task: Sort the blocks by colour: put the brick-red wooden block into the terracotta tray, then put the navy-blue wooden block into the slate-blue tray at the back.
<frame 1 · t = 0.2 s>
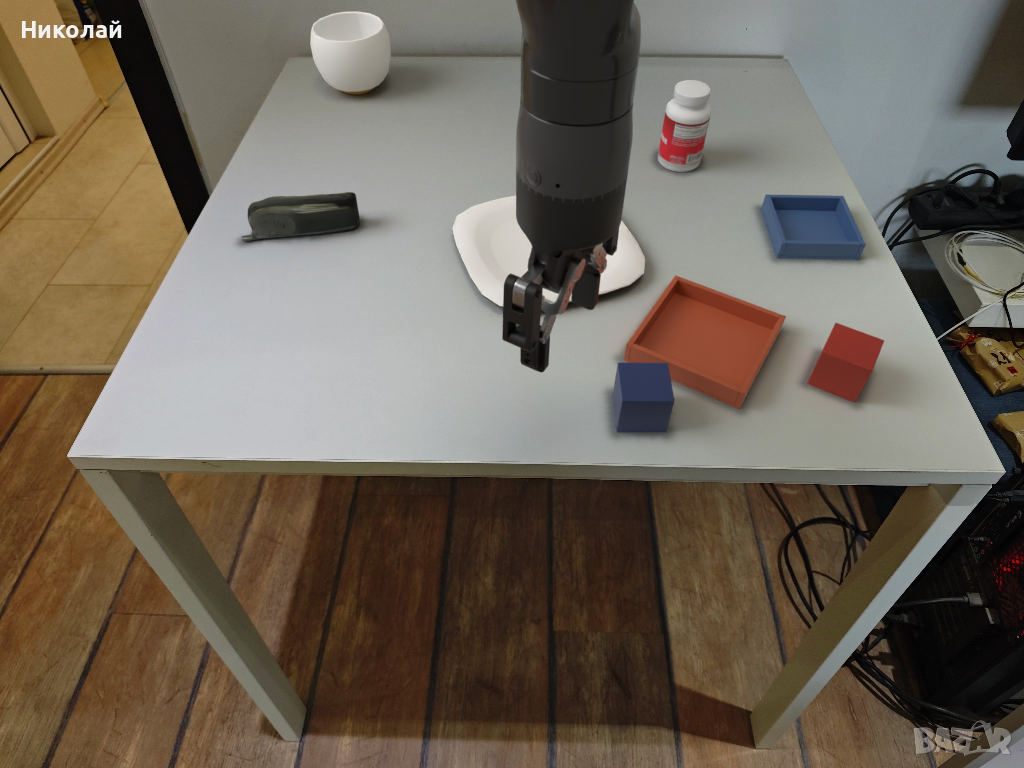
hand: (560, 334, 60), 15 cm above the table, tool pointing down, fingers open, 8 cm apart
plate: (546, 253, 91), on the table
pill bottle: (678, 162, 105), on the table
cup: (358, 87, 119), on the table
navy block: (638, 413, 74), on the table
red block: (836, 378, 77), on the table
blue tray: (807, 234, 93), on the table
terracotta tray: (703, 345, 80), on the table
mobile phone: (303, 233, 94), on the table
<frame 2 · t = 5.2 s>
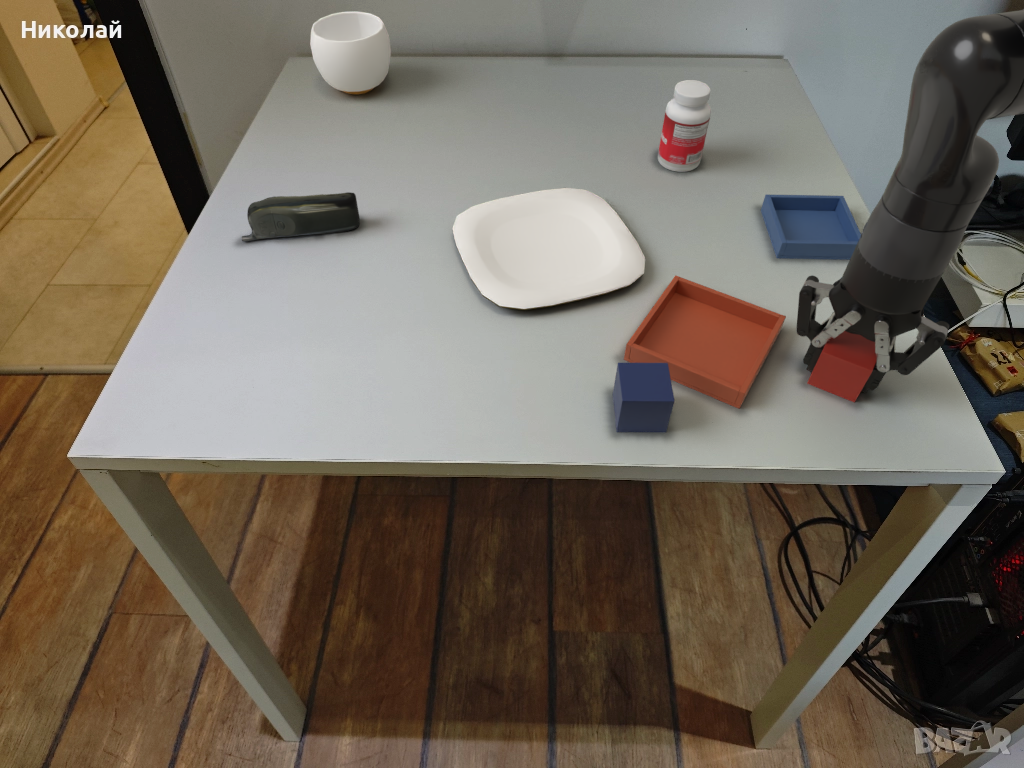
hand: (838, 375, 77), 0 cm above the table, tool pointing down, fingers closed on red block, 5 cm apart
red block: (836, 378, 77), on the table, touching gripper
everything else where it was.
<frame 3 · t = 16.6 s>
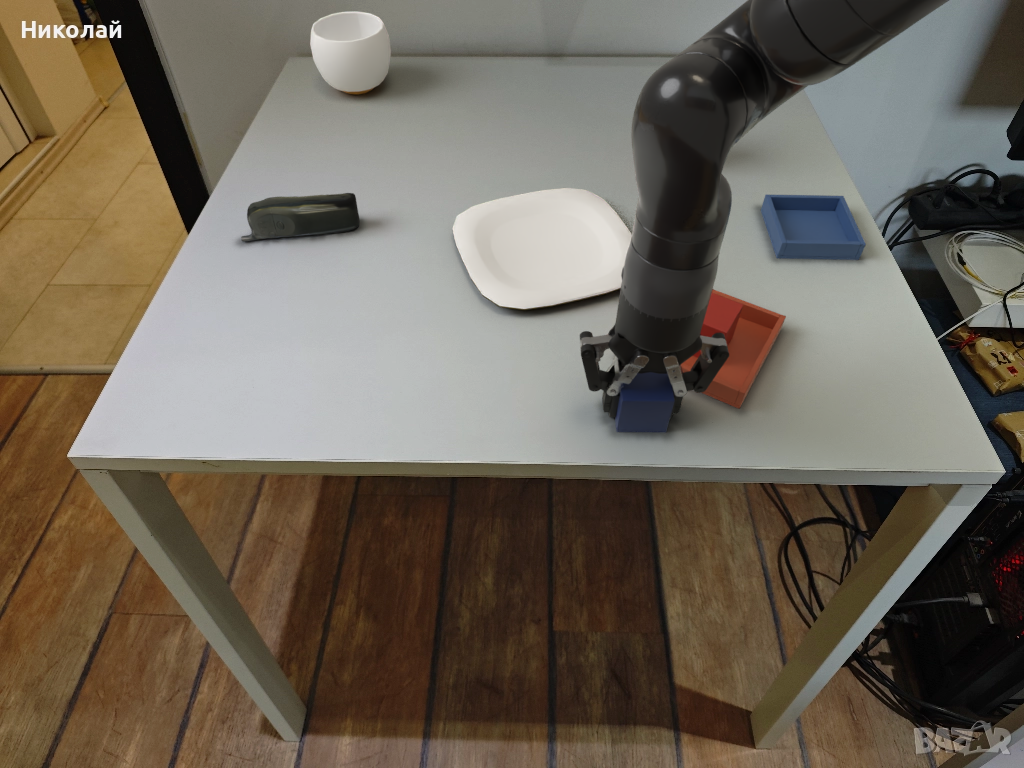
hand: (639, 410, 74), 0 cm above the table, tool pointing down, fingers closed on navy block, 5 cm apart
navy block: (638, 413, 74), on the table, touching gripper
red block: (703, 342, 80), resting on terracotta tray
everything else where it was.
when the fingers open (1 cm above the table, at t = 26.4 s): navy block stays where it is, resting on blue tray.
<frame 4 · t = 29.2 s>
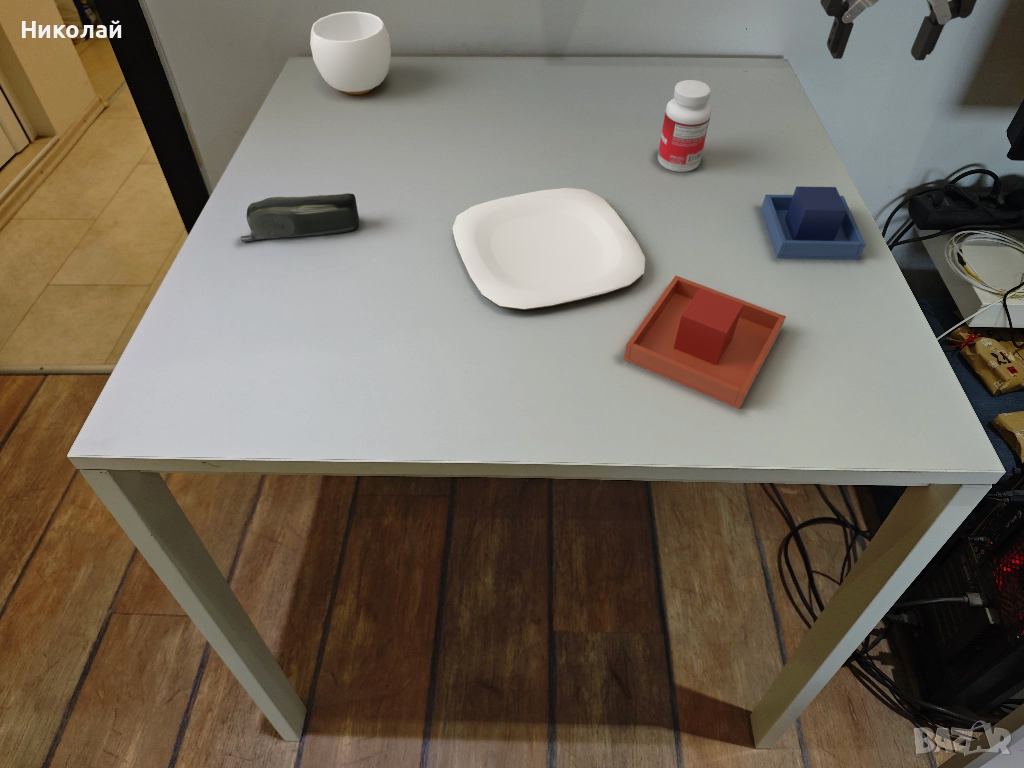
hand: (876, 56, 76), 23 cm above the table, tool pointing down, fingers open, 8 cm apart
navy block: (808, 231, 93), resting on blue tray
everything else where it was.
at the end: red block inside the target area in the terracotta tray (0.1 cm from its centre), point 0.5 cm above the terracotta tray's base; navy block 0.1 cm off-centre in the blue tray, point 0.5 cm above the blue tray's base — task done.
